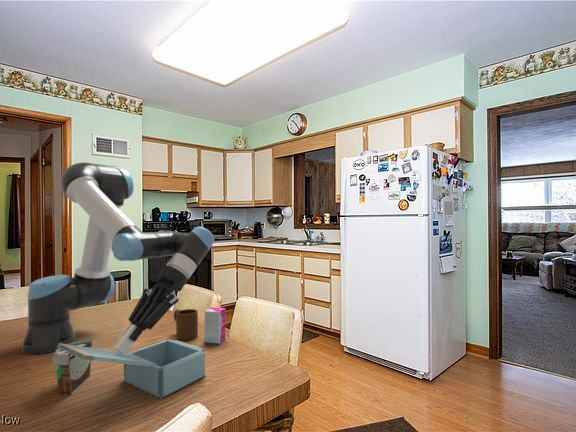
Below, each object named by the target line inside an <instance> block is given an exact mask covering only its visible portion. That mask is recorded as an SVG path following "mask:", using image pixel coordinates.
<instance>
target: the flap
mask: <svg viewBox="0 0 576 432" xmlns="http://www.w3.org/2000/svg"><path fill="white" fill-rule="evenodd" d="M57 348H60V349H62V350H64V351H66V352H68V353H70V354H72V355H74V356H77V357H79V358H81V359H83V360H91V362H93V361H96V362H104V363H112V364H113V363H115V364H123V365H124V364H131V365H141V366H150V367H155V364H156V363H153V362H151V361H148V360H145V359H143V358H140V357H138V356H135V355H132V354H130V352H127V353H126V354H125V355H124V354H121V353H120V352H118V351H117V350H111V349H110V350H109V349H103V348H96V347H92V348H89V347H82V346H74V345H68V344H61V343H59V344H58V346H57Z"/></svg>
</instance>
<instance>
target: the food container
mask: <svg viewBox="0 0 576 432" xmlns="http://www.w3.org/2000/svg"><path fill="white" fill-rule="evenodd" d="M68 345H74V346H82V347H89V348H93V346H94V343H93V340H92V339H85V340H79V341H75V342H73V343H69V344H68ZM52 363H53V364H54V365H55V367H56V368H55V369H56V379H57V388H58V390H57V391H58V393H59V392H60V393H59V394H60V395H64V394H67V395H66V396H72V395H73V394H74V393H75V392H76V391H77V390H78V389H79V388H80V387H81V386H82V385H83V384H84V383H86V382H87V381H88V380H89V379H90V378H91V367H92V361H91V360H83V359H81V358H79V357H77V356H74V355H72V354H70V353H68V352H66V351H64V350H62V349H60V348H58V349H57V350H56V351H54V353H53V357H52ZM73 392H74V393H73ZM72 393H73V394H72Z"/></svg>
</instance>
